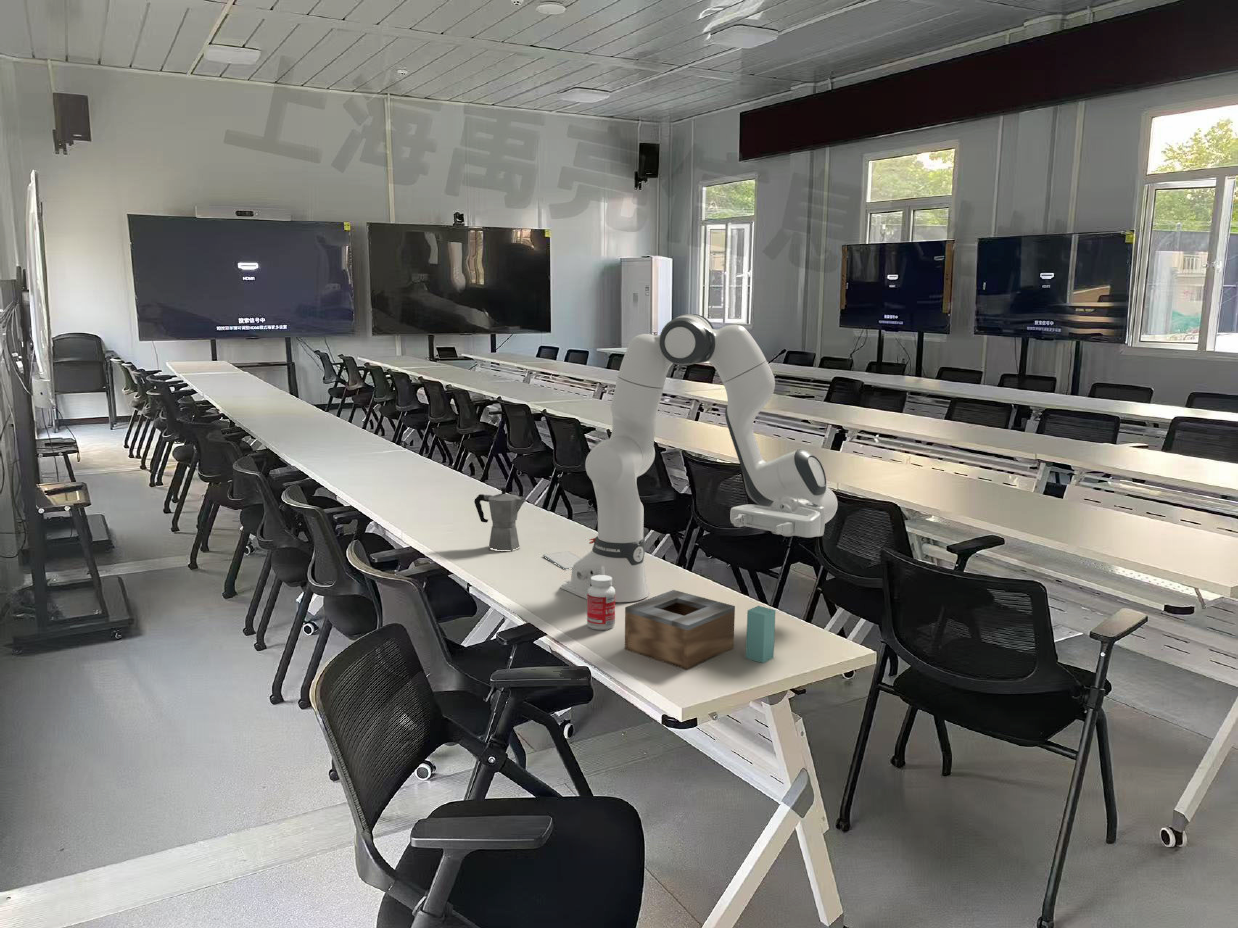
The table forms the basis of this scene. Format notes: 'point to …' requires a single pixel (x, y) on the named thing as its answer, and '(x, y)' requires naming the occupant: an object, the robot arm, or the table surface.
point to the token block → (760, 634)
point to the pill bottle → (601, 603)
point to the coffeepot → (502, 518)
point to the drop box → (679, 628)
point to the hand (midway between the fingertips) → (755, 526)
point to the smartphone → (563, 559)
